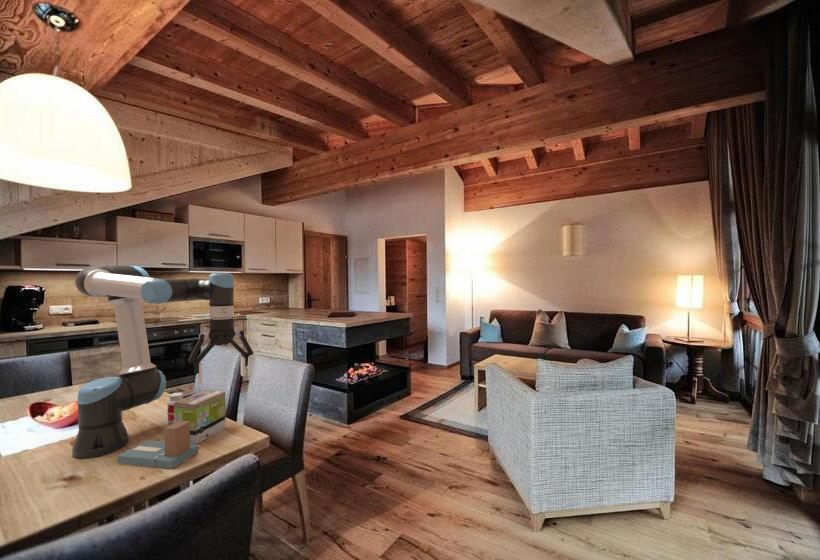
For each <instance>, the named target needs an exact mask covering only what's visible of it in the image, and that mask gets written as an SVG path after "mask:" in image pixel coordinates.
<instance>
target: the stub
mask: <svg viewBox="0 0 820 560" xmlns="http://www.w3.org/2000/svg"><path fill="white" fill-rule="evenodd" d="M163 431H164V435H163V436H164V442H165V454H164V455H163V456H161V457H159V458H157V459H156V460H155V465H156V467H155V468H160V469H161V468H162V469H170V470H171V469H174V468H176V467H177V466H179V465H180V464H182V463H183V462H184V461H186V460H188V459H190V458H191V457H193V456H194V455H196V454H197V453H199V450H200V449H199V448H200V447H199V444H196V445H195V444H190V421H178V422H176V423H171V424H170V425H168V426H166V427H164V429H163Z"/></svg>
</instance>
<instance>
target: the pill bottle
mask: <svg viewBox="0 0 820 560" xmlns="http://www.w3.org/2000/svg"><path fill="white" fill-rule="evenodd" d="M184 398H185V397H184V392H174V393H171V394H169V400H168V401H167V422H168V423H169V424H174V402H176V401H179V400H182V399H184Z"/></svg>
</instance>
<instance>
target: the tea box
mask: <svg viewBox="0 0 820 560" xmlns="http://www.w3.org/2000/svg"><path fill="white" fill-rule="evenodd" d="M183 398H184V399H182V400H179V401H176V402H174V423H176V422H178V421H190V444H193V445H199V444H200V443H201V442H203V441H205V440H206V439H208V438H210V437H211V436H213V435H215V434H217V433H219V432H220V431H222V430H224V429H225V428H226V391H222V390H221V391H218V390H217V391H216V390H208V389H207V390H202V391H199V392H197V393H195V394H191V395H189V396H187V397H183ZM174 423H173V424H174Z"/></svg>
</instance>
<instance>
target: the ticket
mask: <svg viewBox="0 0 820 560" xmlns="http://www.w3.org/2000/svg"><path fill="white" fill-rule="evenodd" d="M164 454H165V441H158V440H149V439H148V440H145V441H143V442H142V443H140V444H138V445H136V446H134V447H132V448H130V449H128V450H126V451H125V452H122V453H120V454H118V455H117V459H116V460H117V461H116V462H117V464H119V465H120V464H121V465H126V466H127V465H129V466H138V467H145V468H146V467H147V468H157V467H156V465H155V460H156V459H157V458H159V457H161V456H163V455H164Z"/></svg>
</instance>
